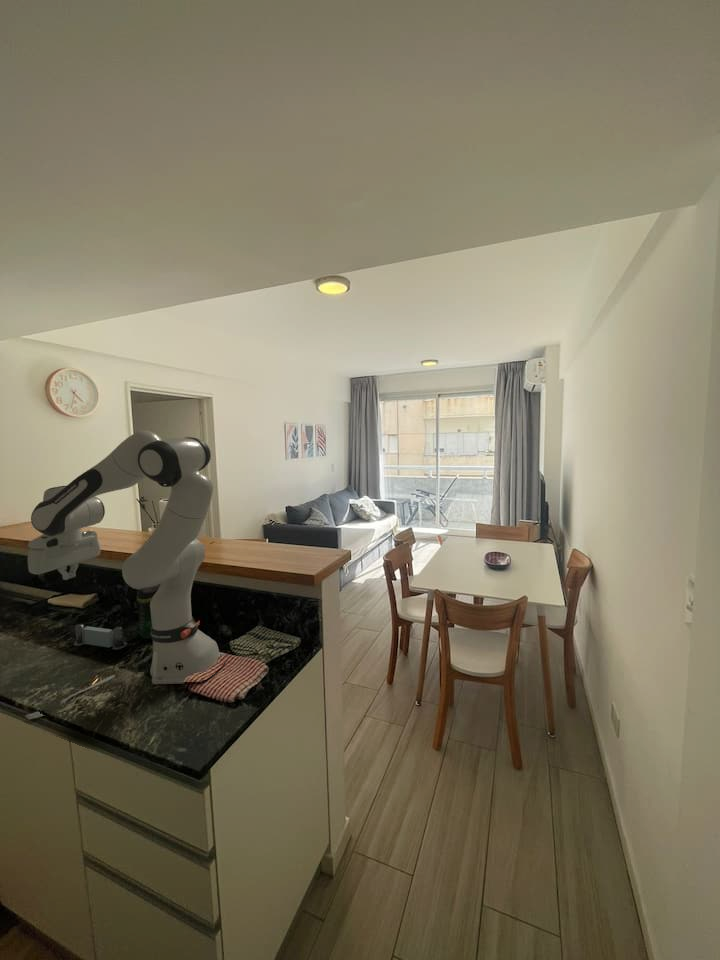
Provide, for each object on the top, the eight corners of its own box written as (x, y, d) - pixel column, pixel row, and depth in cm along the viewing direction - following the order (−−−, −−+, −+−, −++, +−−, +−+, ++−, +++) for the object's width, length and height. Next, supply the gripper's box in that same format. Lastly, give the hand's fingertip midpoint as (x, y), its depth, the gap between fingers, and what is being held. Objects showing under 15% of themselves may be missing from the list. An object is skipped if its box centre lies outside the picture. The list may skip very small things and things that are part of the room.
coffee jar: (145, 642, 132) (140, 591, 130) (137, 635, 137) (132, 586, 135) (173, 631, 139) (169, 582, 137) (164, 625, 144) (160, 578, 143)
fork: (127, 672, 115) (127, 667, 115) (29, 726, 94) (29, 719, 94) (121, 669, 116) (121, 664, 116) (23, 721, 95) (23, 715, 95)
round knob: (92, 640, 135) (90, 622, 134) (80, 646, 130) (78, 629, 130) (82, 639, 136) (80, 622, 135) (70, 645, 131) (68, 628, 131)
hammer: (131, 642, 132) (129, 625, 131) (119, 650, 127) (118, 632, 126) (115, 641, 133) (113, 623, 133) (103, 648, 128) (101, 630, 128)
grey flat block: (82, 643, 131) (81, 628, 131) (88, 640, 133) (86, 626, 133) (109, 647, 128) (107, 632, 128) (114, 644, 130) (112, 629, 129)
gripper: (89, 528, 130) (93, 567, 132) (21, 544, 111) (27, 589, 112) (102, 529, 128) (106, 568, 130) (36, 545, 109) (42, 591, 110)
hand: (69, 578), depth 121 cm, fingers closed
